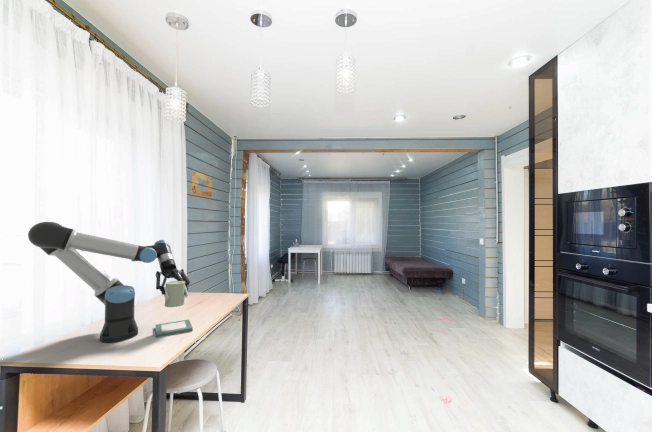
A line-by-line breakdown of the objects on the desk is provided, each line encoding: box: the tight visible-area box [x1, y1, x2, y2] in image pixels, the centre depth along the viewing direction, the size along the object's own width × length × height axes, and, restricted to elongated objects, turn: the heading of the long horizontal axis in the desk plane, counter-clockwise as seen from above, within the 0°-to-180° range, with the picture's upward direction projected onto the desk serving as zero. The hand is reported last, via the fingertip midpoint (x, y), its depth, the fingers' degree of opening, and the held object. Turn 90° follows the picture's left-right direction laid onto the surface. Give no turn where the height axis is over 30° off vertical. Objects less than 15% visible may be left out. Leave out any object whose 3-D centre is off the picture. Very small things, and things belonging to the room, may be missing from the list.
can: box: [164, 280, 185, 308], centre depth 150 cm, size 9×9×12 cm
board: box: [154, 319, 193, 338], centre depth 148 cm, size 16×16×2 cm
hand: (177, 297), depth 147 cm, fingers closed on can, 9 cm apart
